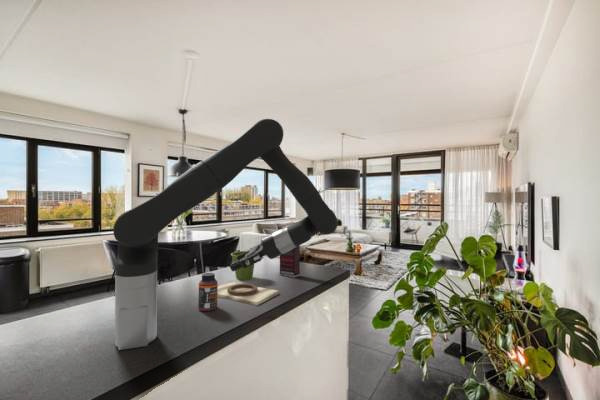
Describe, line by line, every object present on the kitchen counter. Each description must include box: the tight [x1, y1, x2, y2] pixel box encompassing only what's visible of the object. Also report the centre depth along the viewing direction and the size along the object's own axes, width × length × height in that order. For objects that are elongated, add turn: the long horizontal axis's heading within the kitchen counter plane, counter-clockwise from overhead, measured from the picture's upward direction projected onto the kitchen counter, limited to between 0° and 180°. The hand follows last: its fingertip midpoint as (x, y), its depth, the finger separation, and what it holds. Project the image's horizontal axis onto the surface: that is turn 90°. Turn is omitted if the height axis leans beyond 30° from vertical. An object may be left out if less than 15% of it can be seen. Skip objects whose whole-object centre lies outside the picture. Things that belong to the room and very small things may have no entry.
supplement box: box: [279, 245, 301, 278], centre depth 136 cm, size 9×5×16 cm, turn 58°
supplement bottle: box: [197, 272, 219, 312], centre depth 94 cm, size 6×6×11 cm
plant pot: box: [230, 250, 255, 281], centre depth 130 cm, size 12×12×11 cm
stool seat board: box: [217, 281, 280, 306], centre depth 109 cm, size 24×14×2 cm, turn 62°
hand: (234, 263), depth 93 cm, fingers open, 8 cm apart
